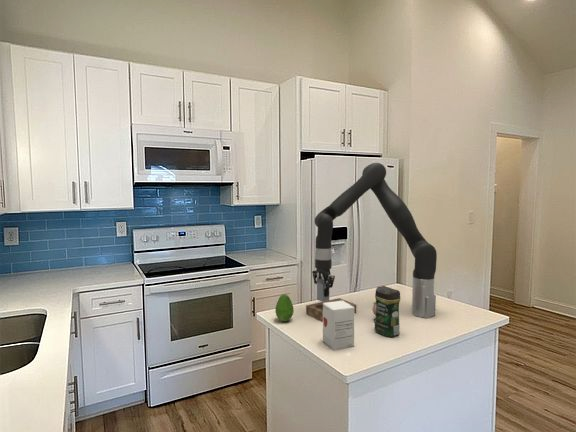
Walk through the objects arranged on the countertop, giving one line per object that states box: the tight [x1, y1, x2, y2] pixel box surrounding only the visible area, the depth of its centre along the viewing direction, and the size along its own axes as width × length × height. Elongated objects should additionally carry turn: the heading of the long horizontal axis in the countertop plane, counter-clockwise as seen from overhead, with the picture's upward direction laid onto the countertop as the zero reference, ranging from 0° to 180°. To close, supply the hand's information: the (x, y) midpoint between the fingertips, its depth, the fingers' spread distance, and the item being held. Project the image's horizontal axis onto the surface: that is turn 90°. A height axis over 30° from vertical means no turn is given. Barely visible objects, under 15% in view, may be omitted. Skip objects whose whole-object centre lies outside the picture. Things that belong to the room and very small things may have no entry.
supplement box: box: [322, 299, 355, 351], centre depth 140 cm, size 9×9×15 cm
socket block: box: [305, 298, 357, 323], centre depth 173 cm, size 12×20×4 cm, turn 123°
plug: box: [316, 278, 330, 302], centre depth 170 cm, size 4×4×10 cm
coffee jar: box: [374, 285, 401, 338], centre depth 150 cm, size 10×8×19 cm
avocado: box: [274, 293, 295, 322], centre depth 164 cm, size 8×8×12 cm
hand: (323, 294), depth 170 cm, fingers closed on plug, 4 cm apart
